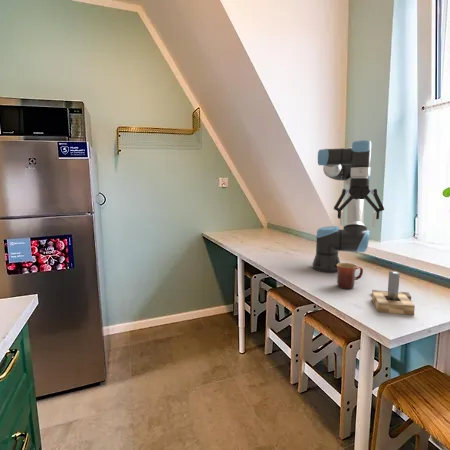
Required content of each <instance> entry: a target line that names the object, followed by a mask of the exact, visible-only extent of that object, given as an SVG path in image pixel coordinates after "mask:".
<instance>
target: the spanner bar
mask: <svg viewBox="0 0 450 450" xmlns="http://www.w3.org/2000/svg"><path fill="white" fill-rule="evenodd" d="M371 291H372V292H386V293H388V290H378V289H372V290H371ZM372 292H371V293H372ZM398 293H400V294H405V295H406V296H407V297H408V298H409V300H410V301H411V302H412V296H411V294H410V292H408V291H398Z"/></svg>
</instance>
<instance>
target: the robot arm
mask: <svg viewBox="0 0 450 450" xmlns="http://www.w3.org/2000/svg"><path fill="white" fill-rule="evenodd" d="M371 156H372V141H371V140H367V139H365V140H361V139H360V140H355V141H352V143H351V147H346V148H344V147H343V148H323V149H319V150H318V152H317V165H318V166H323V167H322V168H323V173H324V175H325V176H326V177H328V178H329V179H331V180H336V181H345V183H344V184H345V185H347V189H345V188H342V190H341V194H340V196H339V198H338V200H337V202H336V203H335V205H334V206H333V210H335V211H336V212H337V219H339V226H340V227H343V229H340V227H339V226H336V225H331V226H323V227H319V228H318V229H317V230H316V236H315V237H316V244H315V246H316V248H315V252H316V253H315V256H314V259H313V261H312V269H313V270H315V271H318V272H322V273H338V270H337V266H336V264H338V263H341V261H340V257H339V252H350V253H366V251H367V250H368V247H369V246H368V245H369V242H370V241H369V240H370V235H371V230H368V227H367V225H365V201H366V202H367V203H369V205H370V206H371V207H372V209H373V210H374V211H373V212H372V227H373V228H376V227H377V220H379V219H380V212H382V211H384V210H385V207H384V206H383V203H382V201H381V198H380V197H379V195H378V190H377V188H371V189H370V179H371V177H372V176H371V173H372V172H371ZM369 194H371V195H372V196H373V198H374V200H375V202H376V204H377V205H378V207H377V205H376V204H375V203H374V201H372V199H371V198H370V197H369ZM346 195H347V199H345V201H344V202H343V203H342V201H343V199H344V197H346ZM341 203H342V204H341ZM340 204H341V205H340ZM346 206H347V208H346ZM345 208H346V224H345V225H343V218H344V212H343V210H344V209H345Z"/></svg>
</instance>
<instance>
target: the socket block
mask: <svg viewBox="0 0 450 450" xmlns="http://www.w3.org/2000/svg"><path fill="white" fill-rule="evenodd" d="M387 295H388V293H386V292H371V301H372V303H373V305H374V307H375V308H376V310H377V312H378V313H385V314H386V313H388V314H397V315H398V314H399V315H409V316H411V315H412V316H414V315H415V310H416V309H415V305H414V302H412V300H411V301H410V300H409V298H408V297H407V296H406V295H405V294H400V293H398V301H391V300H387Z"/></svg>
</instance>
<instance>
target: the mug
mask: <svg viewBox="0 0 450 450" xmlns="http://www.w3.org/2000/svg"><path fill="white" fill-rule="evenodd" d="M336 266H337V270H338V271H337V279H336V283H337V286H338V288H340V289H343V290H344V289H345V290H350V289H353V288H354V286H355V284H356V283H355V281H357V280H359V279H361V277H362V276H363V274H364V269H363V268H362V267H361V266H358V265H356V264H354V263H348V262H340V263H338V264H336ZM358 269H359V274H358V275H357V276H355V274H356V270H358Z"/></svg>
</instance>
